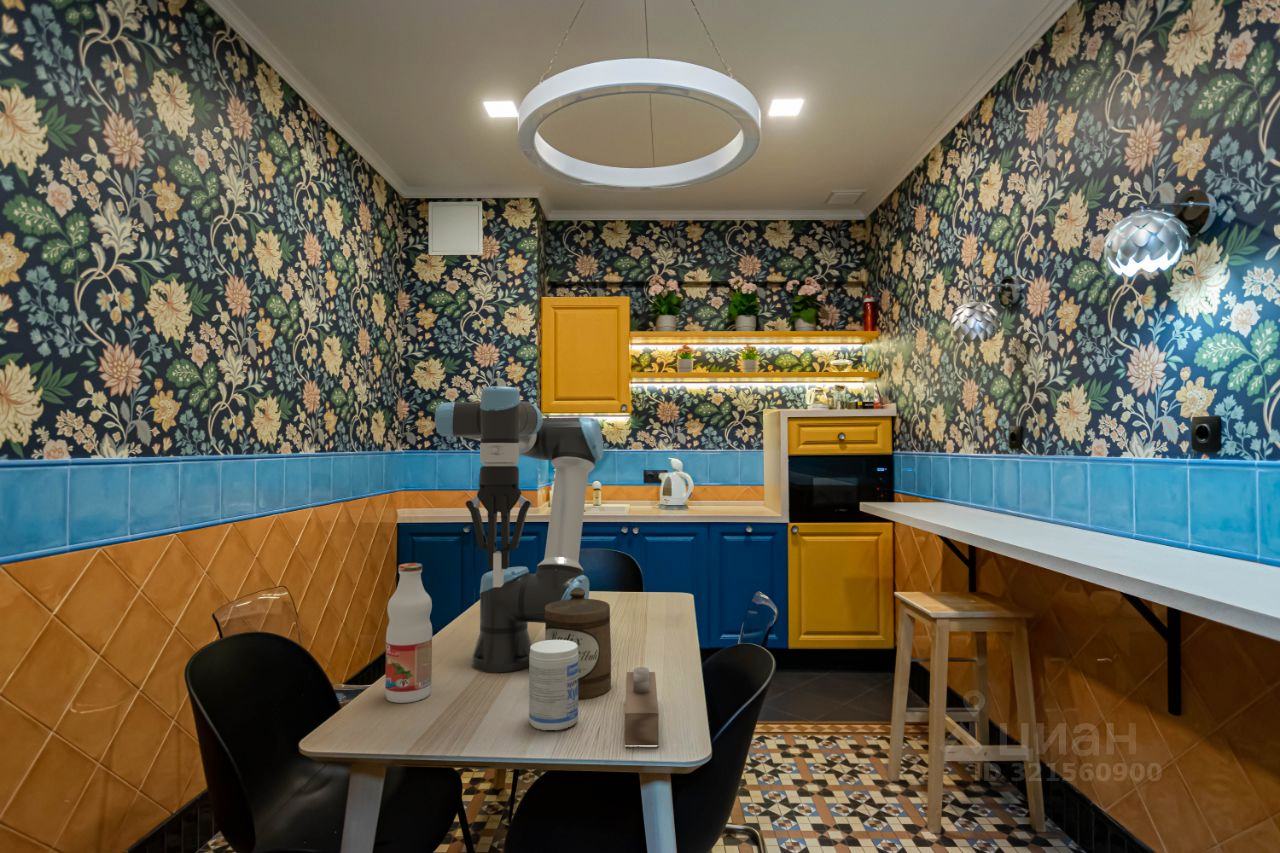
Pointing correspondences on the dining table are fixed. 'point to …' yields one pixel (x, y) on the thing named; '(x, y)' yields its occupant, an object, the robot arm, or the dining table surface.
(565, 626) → the wooden container
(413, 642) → the fruit juice
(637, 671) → the bench stop
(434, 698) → the dining table surface
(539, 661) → the supplement tub
